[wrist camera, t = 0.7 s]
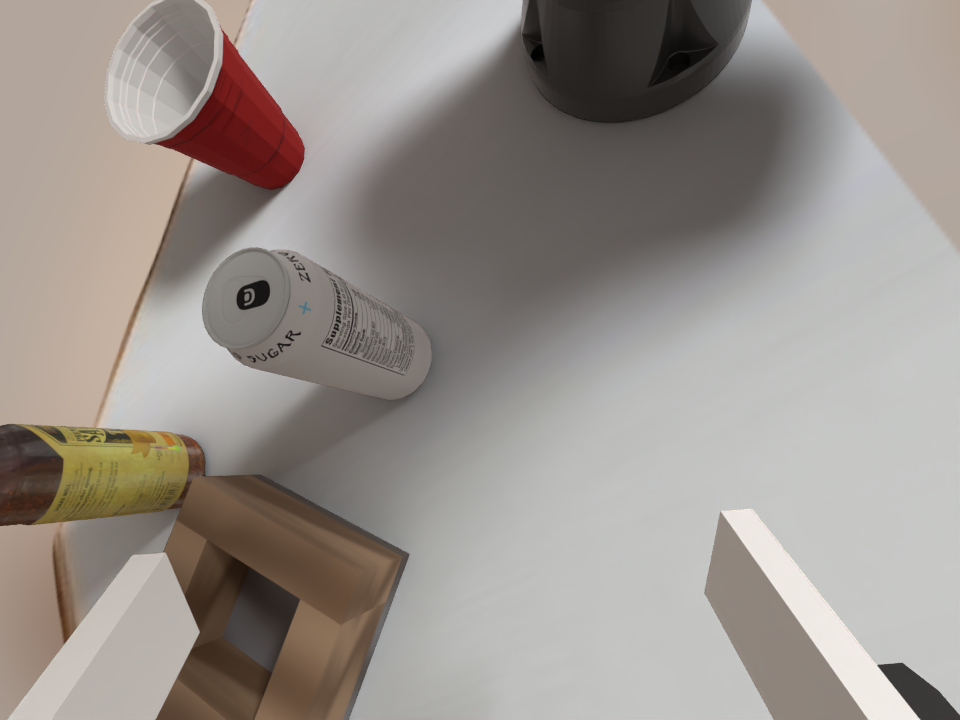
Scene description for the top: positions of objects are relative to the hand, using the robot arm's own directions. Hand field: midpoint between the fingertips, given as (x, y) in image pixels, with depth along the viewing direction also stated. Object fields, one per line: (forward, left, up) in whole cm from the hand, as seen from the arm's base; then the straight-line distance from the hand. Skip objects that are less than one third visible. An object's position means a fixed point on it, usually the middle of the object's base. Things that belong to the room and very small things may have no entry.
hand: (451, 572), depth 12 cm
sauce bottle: (+10, -31, -20) cm, 38 cm away
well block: (+14, -16, -20) cm, 29 cm away
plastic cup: (-18, -34, -20) cm, 43 cm away
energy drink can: (-5, -15, -20) cm, 25 cm away
